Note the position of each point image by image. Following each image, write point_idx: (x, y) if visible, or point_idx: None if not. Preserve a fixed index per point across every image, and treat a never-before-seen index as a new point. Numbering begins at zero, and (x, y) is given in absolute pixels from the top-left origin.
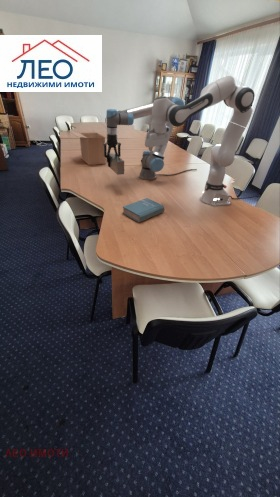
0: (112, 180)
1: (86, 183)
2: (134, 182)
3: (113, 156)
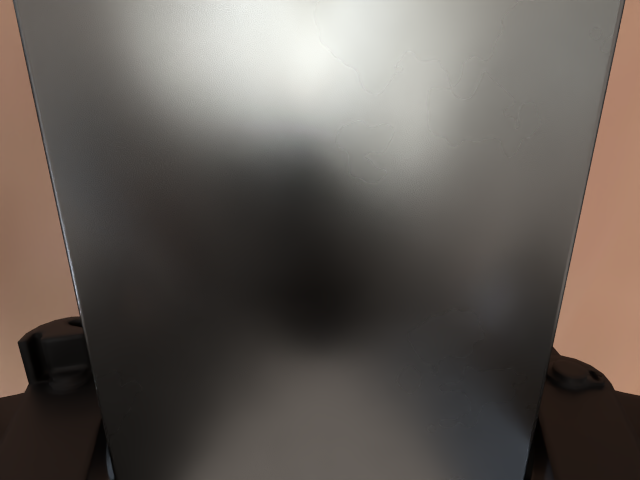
0: None
1: (603, 296)
2: (3, 175)
3: (412, 140)
